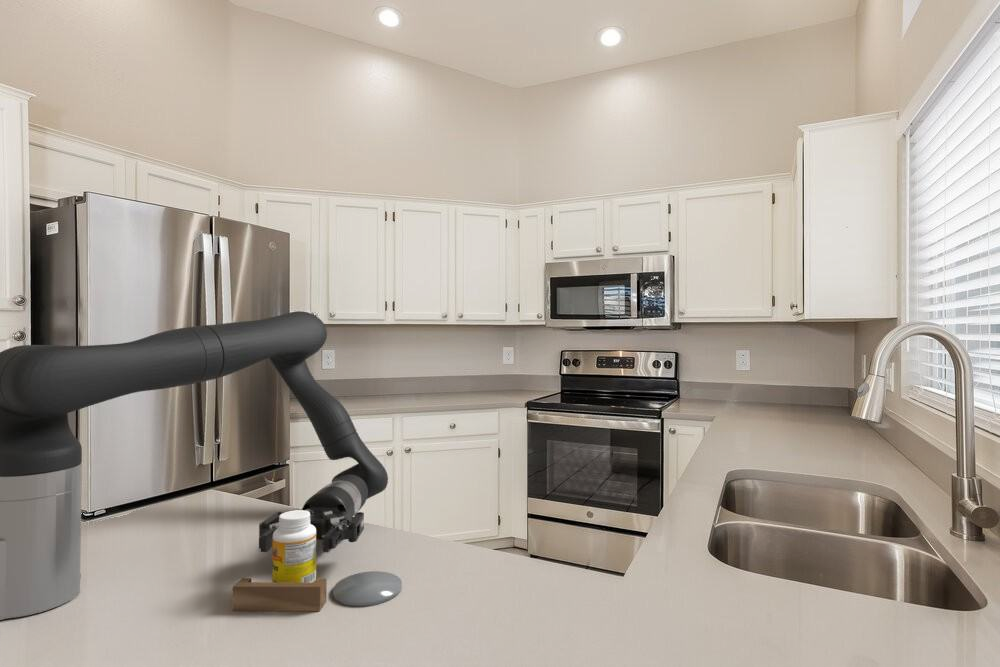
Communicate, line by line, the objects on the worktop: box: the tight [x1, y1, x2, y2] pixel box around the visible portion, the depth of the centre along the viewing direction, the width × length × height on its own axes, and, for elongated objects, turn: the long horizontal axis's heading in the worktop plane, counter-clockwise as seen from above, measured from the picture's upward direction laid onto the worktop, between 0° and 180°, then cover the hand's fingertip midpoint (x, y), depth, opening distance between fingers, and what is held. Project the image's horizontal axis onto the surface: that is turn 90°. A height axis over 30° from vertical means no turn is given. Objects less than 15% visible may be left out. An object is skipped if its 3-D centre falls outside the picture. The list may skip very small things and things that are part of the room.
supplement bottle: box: [271, 509, 317, 583], centre depth 72 cm, size 6×6×10 cm
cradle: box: [232, 577, 328, 612], centre depth 68 cm, size 2×11×3 cm, turn 89°
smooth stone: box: [332, 570, 403, 608], centre depth 72 cm, size 9×9×1 cm
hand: (294, 545), depth 72 cm, fingers open, 8 cm apart
